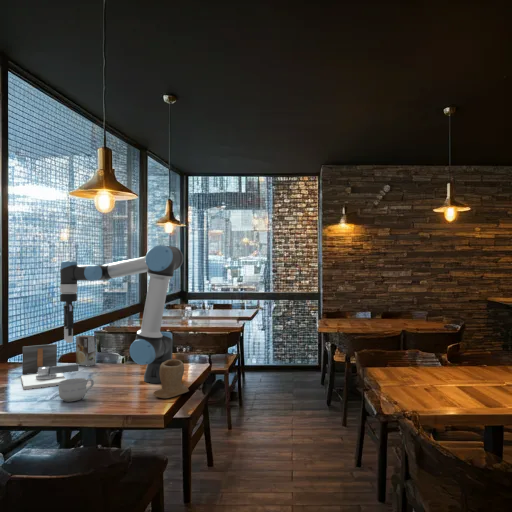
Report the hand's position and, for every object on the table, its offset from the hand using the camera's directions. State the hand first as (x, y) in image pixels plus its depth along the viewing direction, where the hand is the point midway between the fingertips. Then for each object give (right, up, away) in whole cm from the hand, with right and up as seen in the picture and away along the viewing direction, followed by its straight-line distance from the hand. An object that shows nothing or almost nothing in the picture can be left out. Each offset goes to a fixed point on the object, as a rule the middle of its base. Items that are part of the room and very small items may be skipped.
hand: (68, 341), depth 216 cm
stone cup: (+54, -18, -25) cm, 63 cm away
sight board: (-23, -20, +19) cm, 36 cm away
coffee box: (-6, -21, +38) cm, 44 cm away
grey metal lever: (-7, -17, +4) cm, 19 cm away
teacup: (+16, -18, -30) cm, 38 cm away
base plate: (-12, -19, +1) cm, 23 cm away
